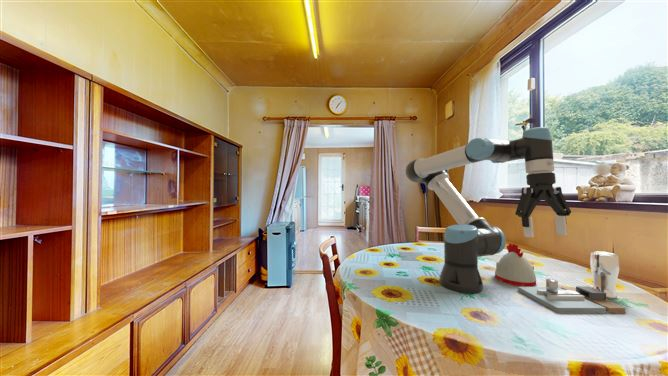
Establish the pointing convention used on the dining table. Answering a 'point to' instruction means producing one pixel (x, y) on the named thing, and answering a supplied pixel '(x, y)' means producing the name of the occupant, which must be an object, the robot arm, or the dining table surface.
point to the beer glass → (605, 272)
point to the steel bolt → (556, 289)
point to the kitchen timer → (515, 268)
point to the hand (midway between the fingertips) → (545, 236)
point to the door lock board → (573, 300)
